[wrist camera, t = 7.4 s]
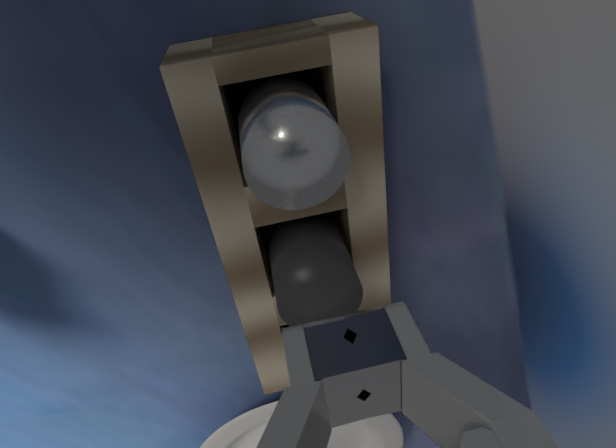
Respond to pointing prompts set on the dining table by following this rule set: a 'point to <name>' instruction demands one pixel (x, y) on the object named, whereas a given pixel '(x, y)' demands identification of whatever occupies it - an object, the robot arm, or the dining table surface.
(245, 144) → the steel knob
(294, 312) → the black knob middle
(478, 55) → the dining table surface
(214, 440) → the candlestick
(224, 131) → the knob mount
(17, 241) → the dining table surface
